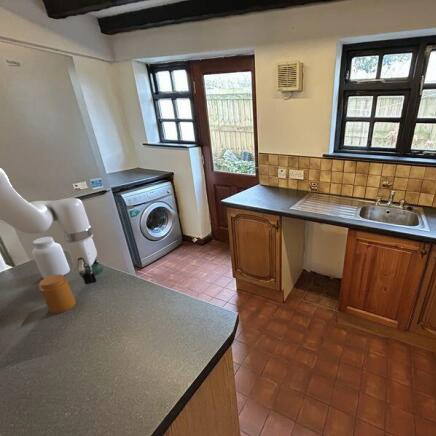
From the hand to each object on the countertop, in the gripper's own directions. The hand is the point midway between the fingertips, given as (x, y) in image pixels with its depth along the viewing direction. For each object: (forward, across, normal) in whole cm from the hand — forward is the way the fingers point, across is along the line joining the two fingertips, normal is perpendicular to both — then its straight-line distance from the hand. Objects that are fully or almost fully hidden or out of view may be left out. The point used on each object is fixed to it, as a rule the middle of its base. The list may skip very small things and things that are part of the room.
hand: (93, 276), depth 90 cm
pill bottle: (+2, -11, -14) cm, 18 cm away
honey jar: (+2, +12, -6) cm, 14 cm away
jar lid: (-3, 0, 0) cm, 3 cm away
